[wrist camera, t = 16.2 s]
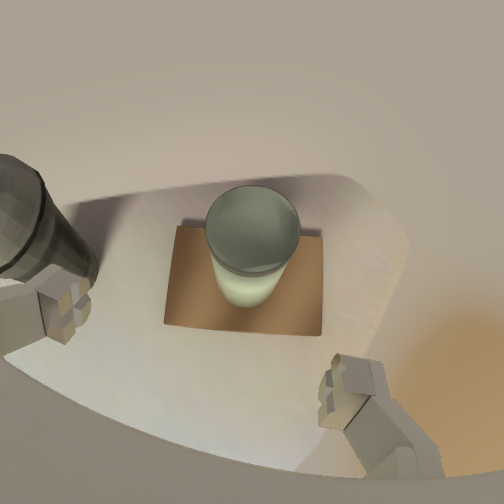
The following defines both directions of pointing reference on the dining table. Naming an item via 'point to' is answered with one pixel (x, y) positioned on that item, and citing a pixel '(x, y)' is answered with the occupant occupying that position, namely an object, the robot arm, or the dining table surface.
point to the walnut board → (237, 318)
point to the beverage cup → (35, 228)
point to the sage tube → (251, 242)
